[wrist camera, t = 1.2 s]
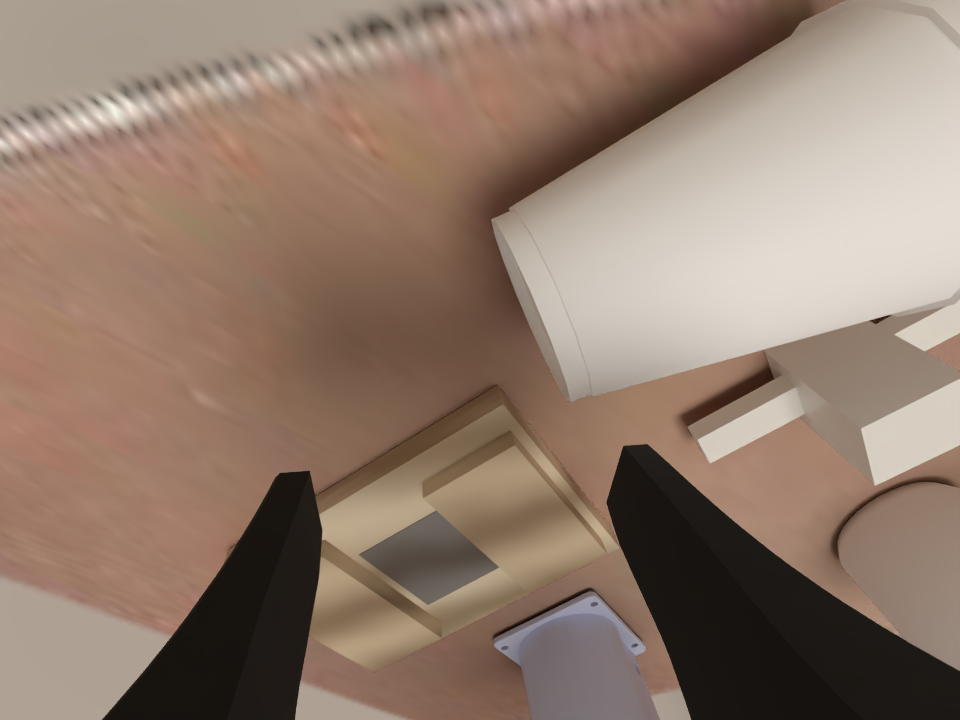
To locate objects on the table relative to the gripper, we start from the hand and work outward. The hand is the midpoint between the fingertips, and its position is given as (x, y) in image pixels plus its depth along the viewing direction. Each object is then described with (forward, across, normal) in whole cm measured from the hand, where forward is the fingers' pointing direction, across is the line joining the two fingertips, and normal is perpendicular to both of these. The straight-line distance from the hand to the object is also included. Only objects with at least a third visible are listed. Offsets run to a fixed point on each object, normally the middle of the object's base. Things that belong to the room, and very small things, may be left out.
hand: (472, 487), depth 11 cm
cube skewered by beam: (+10, -19, +4) cm, 22 cm away
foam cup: (+6, -2, -1) cm, 6 cm away
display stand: (+9, 0, +15) cm, 18 cm away
